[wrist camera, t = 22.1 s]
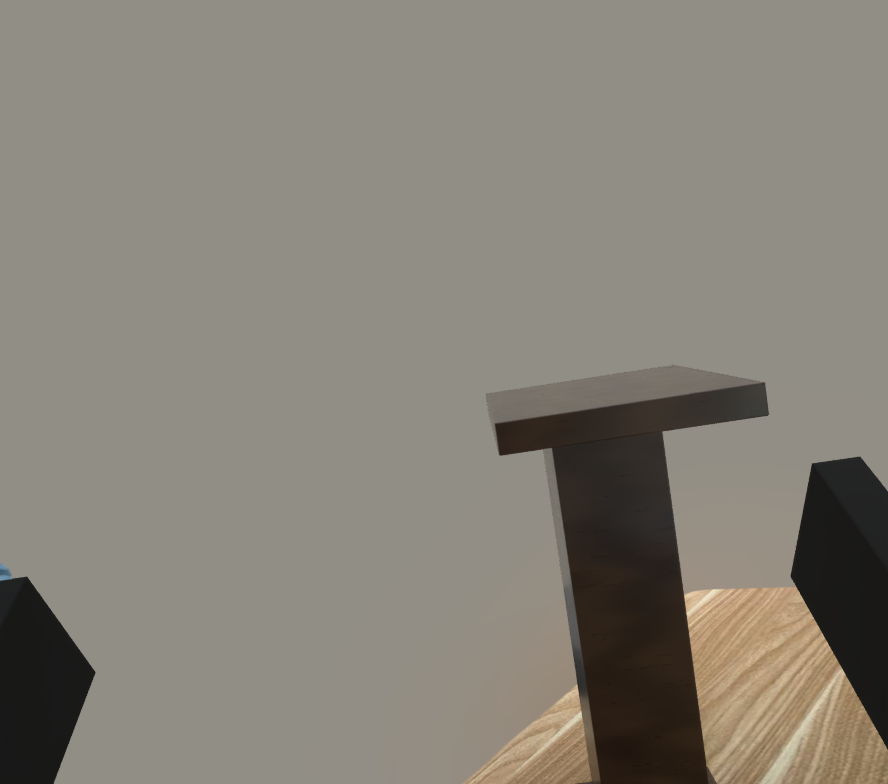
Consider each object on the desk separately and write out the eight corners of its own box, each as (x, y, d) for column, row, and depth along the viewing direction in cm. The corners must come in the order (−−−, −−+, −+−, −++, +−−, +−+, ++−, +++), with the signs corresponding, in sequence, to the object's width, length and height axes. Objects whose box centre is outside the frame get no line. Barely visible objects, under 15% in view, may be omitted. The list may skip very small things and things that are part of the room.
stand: (583, 1007, 35) (494, 423, 33) (547, 803, 50) (485, 392, 48) (836, 977, 35) (765, 382, 32) (724, 780, 50) (670, 363, 47)
